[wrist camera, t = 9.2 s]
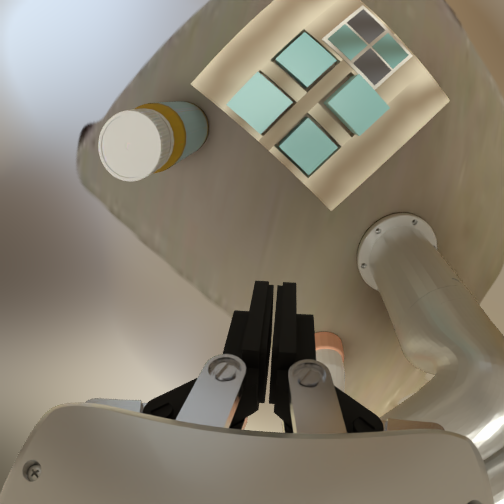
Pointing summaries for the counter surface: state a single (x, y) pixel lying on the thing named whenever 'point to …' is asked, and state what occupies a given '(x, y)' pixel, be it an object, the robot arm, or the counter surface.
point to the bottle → (151, 138)
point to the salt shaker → (331, 356)
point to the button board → (328, 86)
